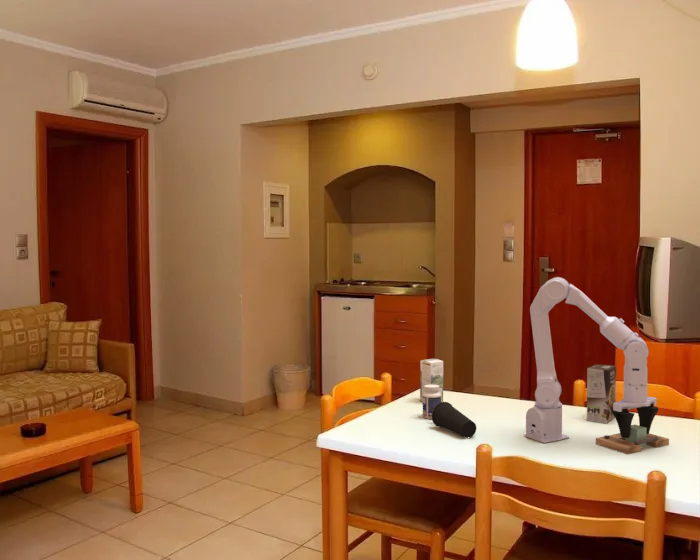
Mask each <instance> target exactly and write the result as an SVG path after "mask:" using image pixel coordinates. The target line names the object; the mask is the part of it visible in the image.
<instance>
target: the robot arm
mask: <svg viewBox="0 0 700 560" xmlns="http://www.w3.org/2000/svg"><path fill="white" fill-rule="evenodd" d="M564 299H566V300H565V302H564V303H565V304H568V305H572V306H577V308H579V309H580V310H581V311H583V313H585V314H586V315H588V317H589V318H591V319H592V320H593V321H595V322H596V323H597V325H599V332H600V333H601V335H603V336H604V337H605V338H606V339H607V340H608V341H609V342H610V343H612V345H614V346H615V347H616V348H617V349H619V350H622V351H623V354H624V365H623V397H622V398H623V399H621V400H618V401H616V403H613V409H612V413H613V415H614V417H615V418H614V419H615V420H616V424H617V426H618V429H619V433H620V434H621V437H625V438H629V437H630V430H631V425H632V422H633V419H634V416H635V413H634V412H630V410H632V409H636V411H637V414H638V415H637V416H638V420H639V423H638V424H639V425H638V426H642V427H646V428H647V434H649V433H650V432H651V431H650V430H651V427H652V425H653V422H654V419H655V416H656V415H657V414H658V412H659V407H658V406H657V402H658V401H657V400H658V399H657V397H653V396H648V366H647V365H648V358H649V354H650V352H649V348H648V345H647V343H646V341H645V340H644V339H643V338H642V337H640V336H639V333H637V332H634V331H632V330H631V329H630V328H629V326H627V325H626V324H624V323H625V320H623V318H622V317H620V318H618V317H616V316H608V315H607V314H606V313H605V312H604V311H603V310H602V308H601V309H600V308H599V306H597V304H596V303H594V302H593V300H591V298H589V297H588V296H587V295H586V294H585V293H584V292H583V291H582V290H580V289H579V288H577V287H576V286H575V285H574V284H572V283H569V282H568V280H566V278H563V277H560V276H556V277H555V276H554V277H553V278H551V279H549V280H547V281H546V282H545V283H544V284H543V285H542V286H540V288H539V289H538V292H537V294H536V296H535V297H534V299H533V301H532V303H531V304H530V307H529V314H530V323H531V330H532V339H533V347H534V353H535V354H534V355H535V364H536V389H535V391H534V397H535V398H534V399H535V401H534V405H533V406H532V407H530V408H528V410H527V411H526V414H525V433H524V434H523V437H526V438H528V439H531V440H535V441H537V442H540V443H544V444H546V443H551V442H556V441H560V440H561V441H562V440H566V439H569V438H570V436H569V435H567V434H563V403H562V402H561V401H560V396H561V394H562V391H563V390H562V385H561V383H560V382H559V380H558V378H557V372H556V368H555V360H554V353H553V350H554V349H553V344H552V343H553V342H552V335H551V327H550V317H549V312H550V311H551V310H552V309H553V308H554V306H556V304H559V303H560V302H562V301H563V300H564Z"/></svg>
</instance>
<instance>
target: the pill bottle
mask: <svg viewBox="0 0 700 560" xmlns="http://www.w3.org/2000/svg"><path fill="white" fill-rule="evenodd" d="M424 390H425V392H424V393H423V402H422V417H423V418H424V419H426V418H427V419H426V420H432V411H433V410H432V409H431V407H433V408H435V406H436V405H437V404H439V403H441V394H440V393H439V385H425V386H424Z"/></svg>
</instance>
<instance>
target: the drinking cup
mask: <svg viewBox="0 0 700 560" xmlns="http://www.w3.org/2000/svg"><path fill="white" fill-rule="evenodd" d="M431 409H432V410H433V411H432V419H431V420H432V422H433V424H434V425H435V426H436V427H439V426H440V427H439V428H443V429H445V430H447V431H449V432H452V433H454V434H456V435H458V436H461V437H463V438H466V439H469V438H468V437H470V438H472V437H473V436H475V434H476V432H477V424H476V423H475V422H474V421H473V420H471V419H470V418H469V417H467V416H466V415H465V414H463V413H462V412H460V411H459V410H458V409H457V408H455V407H454V406H453V404H451V403H450V402H448V401H443V402H441V403H439V404H437V405H436V406H435V408H433V407H431Z"/></svg>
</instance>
